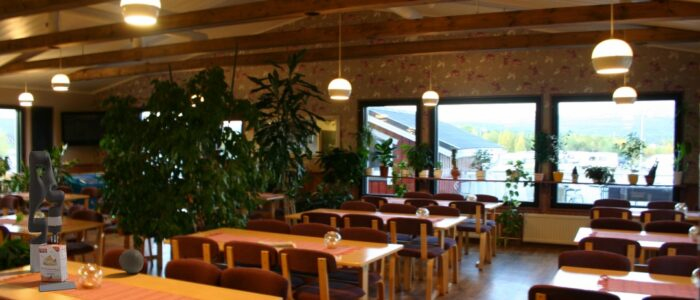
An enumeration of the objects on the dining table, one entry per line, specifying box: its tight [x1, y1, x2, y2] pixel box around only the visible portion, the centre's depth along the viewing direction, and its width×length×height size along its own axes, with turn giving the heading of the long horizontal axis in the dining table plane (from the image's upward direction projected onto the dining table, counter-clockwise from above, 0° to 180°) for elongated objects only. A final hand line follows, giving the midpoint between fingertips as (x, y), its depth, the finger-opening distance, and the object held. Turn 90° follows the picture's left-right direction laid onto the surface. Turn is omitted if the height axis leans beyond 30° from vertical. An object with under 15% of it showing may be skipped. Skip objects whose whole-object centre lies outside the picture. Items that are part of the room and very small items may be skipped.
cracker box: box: [39, 243, 69, 283], centre depth 347 cm, size 14×6×21 cm, turn 77°
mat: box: [39, 280, 77, 293], centre depth 336 cm, size 18×18×1 cm
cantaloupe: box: [118, 248, 144, 274], centre depth 371 cm, size 14×14×15 cm
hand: (54, 253), depth 354 cm, fingers closed
